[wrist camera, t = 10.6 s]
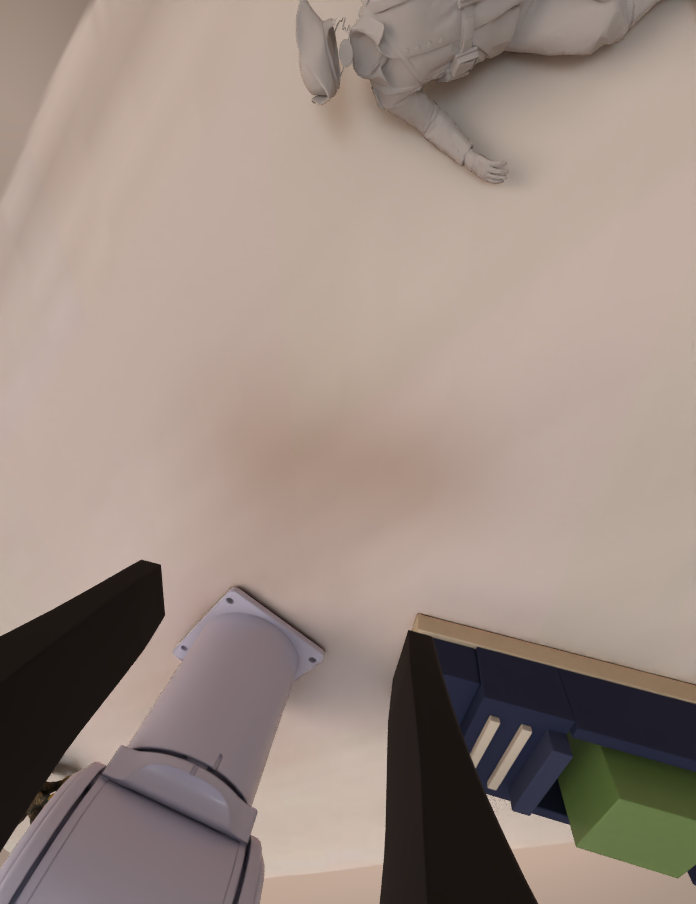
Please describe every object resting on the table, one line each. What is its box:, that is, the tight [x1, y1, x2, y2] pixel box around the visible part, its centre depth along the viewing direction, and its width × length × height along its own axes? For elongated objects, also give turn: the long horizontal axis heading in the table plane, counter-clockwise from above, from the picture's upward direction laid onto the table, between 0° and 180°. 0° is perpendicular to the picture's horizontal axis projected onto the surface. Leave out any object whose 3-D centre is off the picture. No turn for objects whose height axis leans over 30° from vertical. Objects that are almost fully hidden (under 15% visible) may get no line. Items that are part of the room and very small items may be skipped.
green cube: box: [558, 730, 696, 878], centre depth 20 cm, size 5×5×5 cm
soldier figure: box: [296, 0, 661, 183], centre depth 11 cm, size 8×5×12 cm
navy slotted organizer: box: [390, 614, 696, 885], centre depth 22 cm, size 18×8×6 cm, turn 81°
